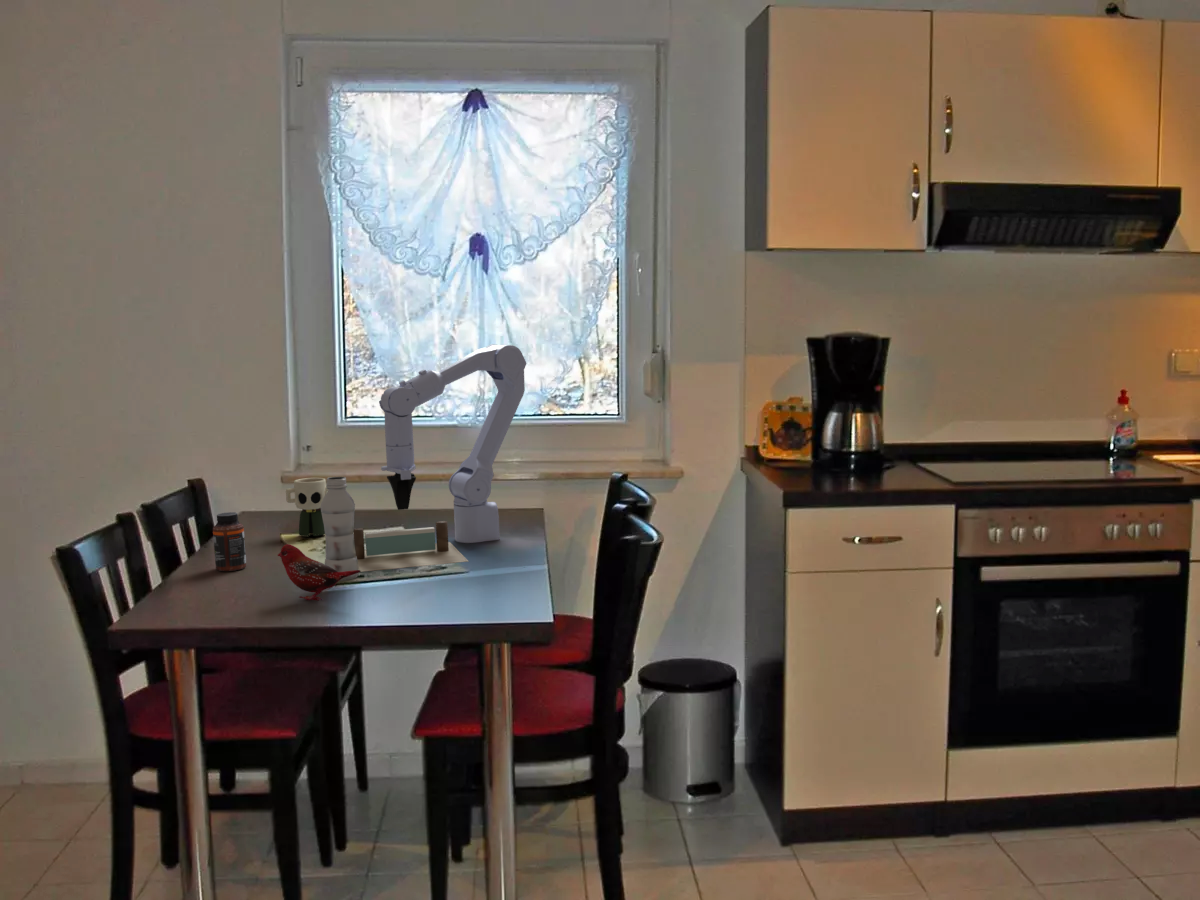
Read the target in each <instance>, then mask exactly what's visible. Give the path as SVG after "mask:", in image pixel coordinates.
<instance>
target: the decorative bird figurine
mask: <svg viewBox="0 0 1200 900" xmlns="http://www.w3.org/2000/svg"><path fill="white" fill-rule="evenodd" d="M277 557H280V559H281V563H282V565H283V566H284V569H285V572H286V575H287V577H288V578H289V579H290V581H291V582H292V583H293V584H294V586H296V587H298V588H299V589H301V590H303V591H305V592H309V593H314V594H312V595H310V596H309V595H305V596H301V595H300V596H299V598H300V599H304V600H306V601H320V600H321V601H323V599H322V598H321V597H320V596H318V595H320V594H321V593H322V592H323V591H326V590H328V589H331V588H333V587H334V586H335V585H337V583H338V582H340V581H339V580H341V579H342V578H344V577H348V576H351V575H353V574H356V573H358V574H359V573H362V572H361V571H360V570H354V571H344V572H338V571H336V570H334V569H333V568H331V567H329V566H327V565H325V563H324V562H320V561H317V560H314V559H312V558H311V557H309V556H307V555H305V553H303V552H302V551H301V550H300V549H299V548H298V547H296V546H294V545H293V544H290V543H288V544H284V545H283V546H282V547H281V549H280V552H279V553H278V554H277Z"/></svg>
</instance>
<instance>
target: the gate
mask: <svg viewBox="0 0 1200 900" xmlns="http://www.w3.org/2000/svg"><path fill="white" fill-rule="evenodd" d="M364 535H365V536H364V539H365V550H366V555H367V556H371V555H382V554H393V553H404V552H415V551H426V550H436V548H435V543H436V527H434V526H432V527H431V526H430V527H419V528H407V529H406V528H405V529H395V530H384V531H383V530H382V531H373V532H372V531H370V532H365V533H364Z"/></svg>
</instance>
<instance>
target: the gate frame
mask: <svg viewBox="0 0 1200 900" xmlns="http://www.w3.org/2000/svg"><path fill="white" fill-rule="evenodd" d="M448 527H449V525H448V521H445V520H440V521H436V522H435V541H436V542H435V548H436V550H426V551H415V552H404V553H393V554H382V555H371V556H367V555H366V549H365V536H364V535H365V533H364V528H361V527H359V528H358V527H357V528H354V532H353V534H354V544H355V552H356V557H357V560H358V565H359V570H360V571H361V572H360V573H362V572H363V573H364V572H373V571H383V570H395V569H405V568H413V567H425V566H436V565H445V564H456V563H467V562H468V563H469V560H468V559H467V558H466V557H465V555H463V554H462V553H461V552H460V551H459V550H458V549H457V548H456V547H455V545H454V544H453V543H451V541H449V529H448Z"/></svg>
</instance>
